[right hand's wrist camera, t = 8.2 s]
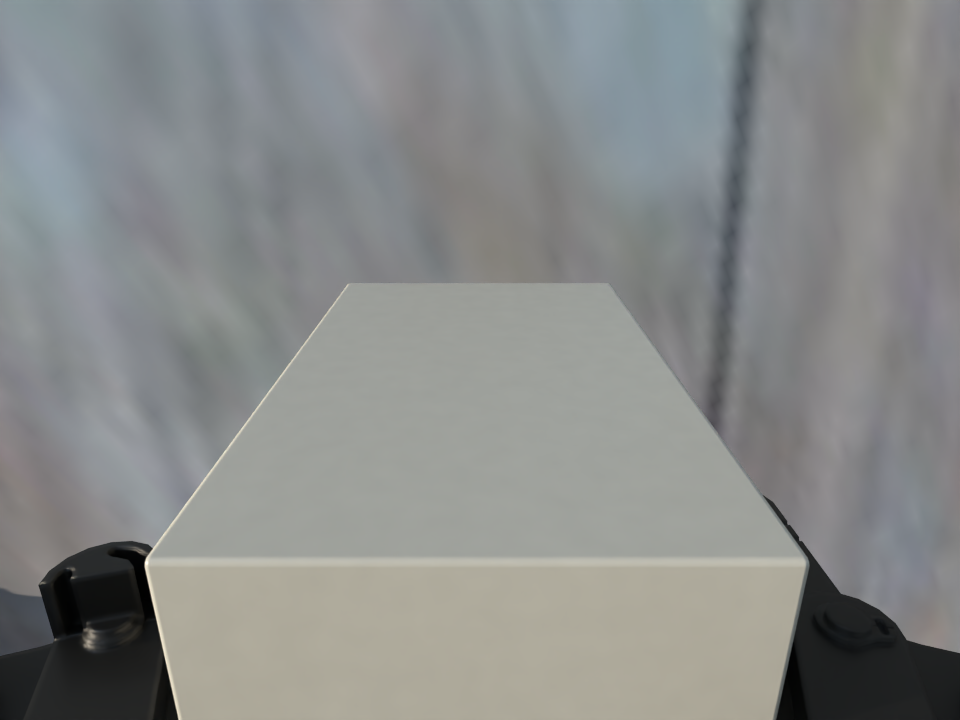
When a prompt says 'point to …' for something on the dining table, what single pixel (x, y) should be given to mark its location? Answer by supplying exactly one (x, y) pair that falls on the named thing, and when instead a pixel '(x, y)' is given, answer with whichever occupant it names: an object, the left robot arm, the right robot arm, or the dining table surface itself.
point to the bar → (477, 528)
